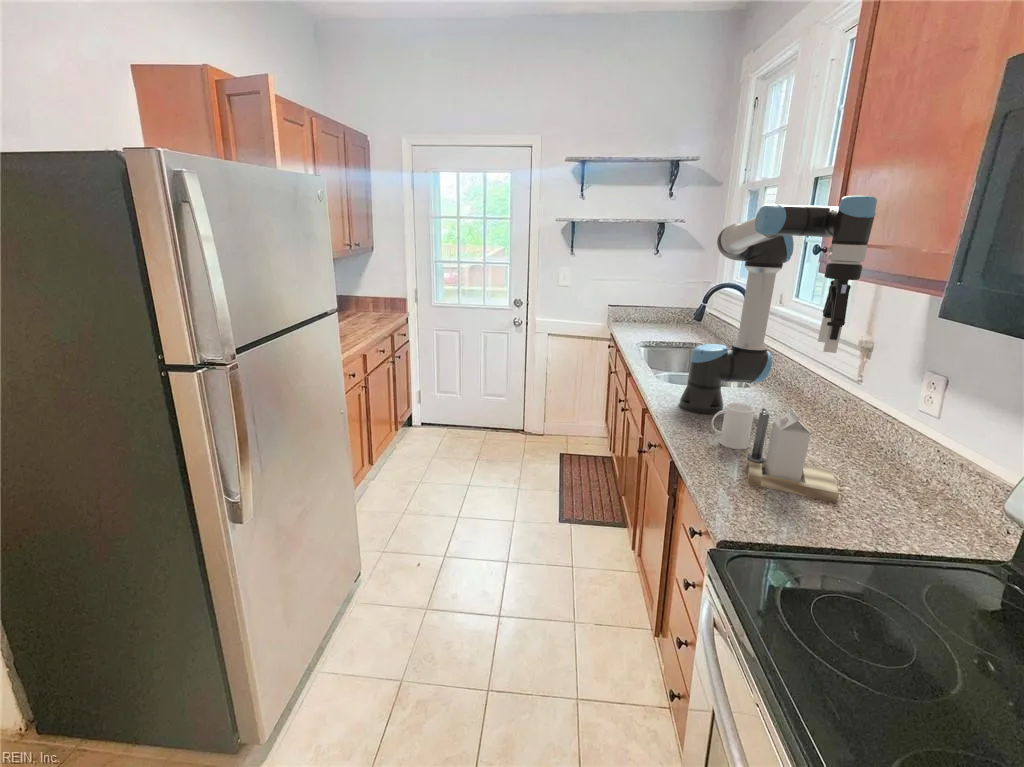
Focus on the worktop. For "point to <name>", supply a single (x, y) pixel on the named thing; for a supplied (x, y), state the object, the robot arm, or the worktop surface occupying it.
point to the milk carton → (787, 448)
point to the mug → (735, 425)
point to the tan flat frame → (812, 484)
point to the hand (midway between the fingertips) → (826, 347)
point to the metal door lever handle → (759, 438)
